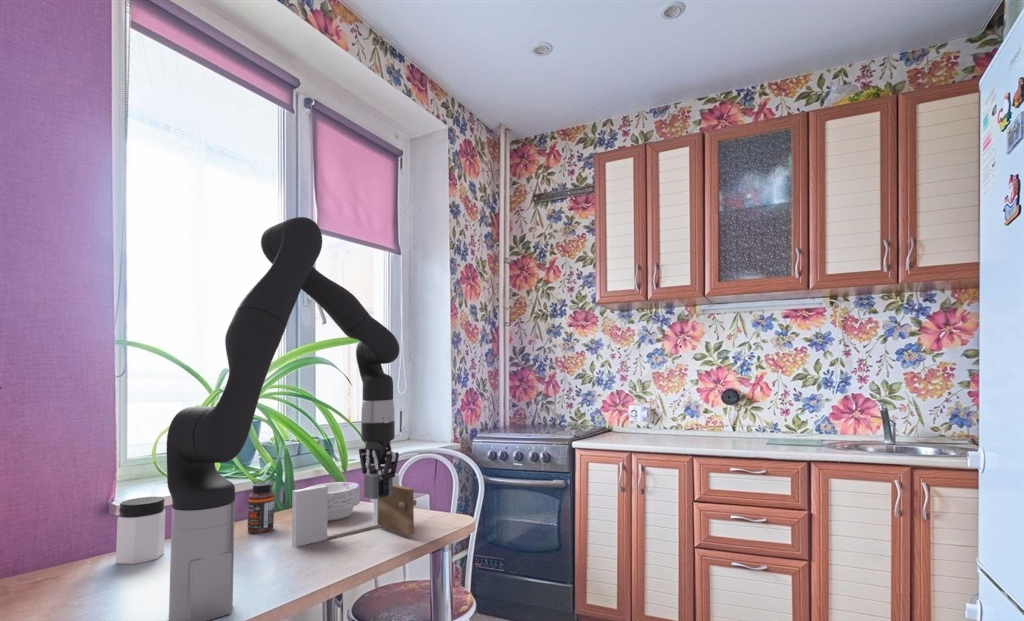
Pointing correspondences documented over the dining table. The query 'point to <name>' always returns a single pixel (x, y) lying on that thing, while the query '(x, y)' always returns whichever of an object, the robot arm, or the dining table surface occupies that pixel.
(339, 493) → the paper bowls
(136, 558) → the jar
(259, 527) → the supplement bottle
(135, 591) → the dining table surface
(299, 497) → the wall frame
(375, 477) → the block
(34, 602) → the dining table surface
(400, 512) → the door
